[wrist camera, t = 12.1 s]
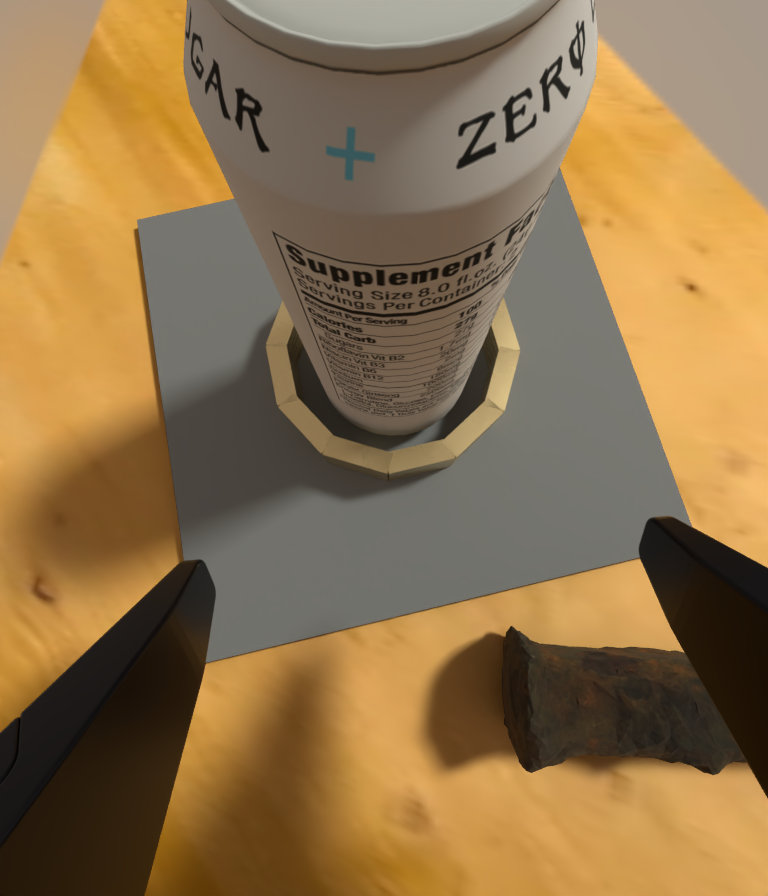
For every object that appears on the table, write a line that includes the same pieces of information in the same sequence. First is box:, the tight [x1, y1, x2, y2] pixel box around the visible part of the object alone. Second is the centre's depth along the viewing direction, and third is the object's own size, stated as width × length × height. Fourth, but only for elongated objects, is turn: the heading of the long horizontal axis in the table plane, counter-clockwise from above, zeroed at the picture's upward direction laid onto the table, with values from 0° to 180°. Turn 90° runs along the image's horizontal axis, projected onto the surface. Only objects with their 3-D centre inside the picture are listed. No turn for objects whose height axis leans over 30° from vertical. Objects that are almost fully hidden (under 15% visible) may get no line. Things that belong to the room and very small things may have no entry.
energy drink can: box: [184, 0, 598, 436], centre depth 12 cm, size 6×6×15 cm
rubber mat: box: [137, 168, 692, 663], centre depth 20 cm, size 20×20×1 cm
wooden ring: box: [266, 297, 520, 481], centre depth 19 cm, size 10×10×2 cm
